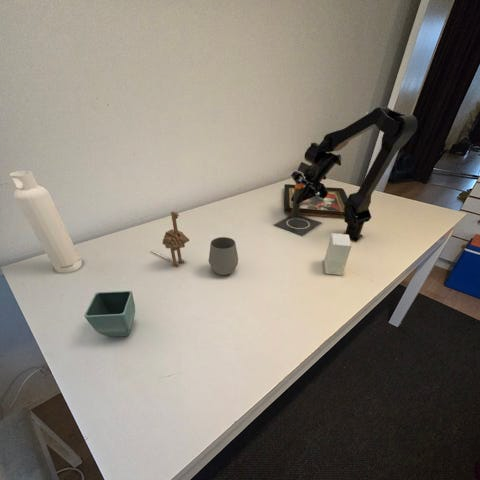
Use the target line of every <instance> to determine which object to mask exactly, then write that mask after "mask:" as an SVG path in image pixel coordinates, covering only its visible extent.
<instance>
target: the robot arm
mask: <svg viewBox="0 0 480 480" xmlns="http://www.w3.org/2000/svg"><path fill="white" fill-rule="evenodd" d="M375 127H376V128H377V130H379V131H380V132H382V133H383V134H382V137H381V145H380V146H381V147H380V149H379V151H378V153H377V154H376V156H375V159H374V160H373V162H372V164H371V167H370V168H369V170H368V171H367V173H366V175H365V177H364V179H363V180H362V183H361V185H360V187H359V189H358V190H357V191H356V192H353V193H350V194H349V195H348V196H347V198H348V199H347V201H346V203H345V204H344V205H345V207H344V211H345V218H344V223H346V228H345V231H344V233H342V234H346V235H349V238H350V241H352V242H358V241H359V240H360V239H361V238H363V234H361V233H362V232H363V231H362V230H363V228H364V225H365V223H367V222H370V220H371V219H372V214H371V210H370V209H369V208H370V205H371V203H372V195H373V193H374V191H375V189H376V188H377V186H378V185H379V183H380V181H381V180H382V178H383V176H384V174H385V172H386V171H387V169H388V167H389V166H390V164H391V162H392V161H393V159H394V157H395V156H396V154H397V153H398V151H400V150H401V149H402V148H403V147H404V146H405V145H406V144H407V143H408V142H409V141H410V140H411V138H412V136H413V135H414V134H415V133H416V131H417V129H418V119H417V117H416V116H415V115H413V114H408V115H405V114H404V113H401V112H398V111H395V110H393V109H391V108H389V107H388V106H379V107H375V108H374V109H373V110H372V111H370V112H369V113H367V114H365V115H364V116H362V117H361V118H359V119H357V120H356V121H354V122H352V123H350V124H349V125H348V126H346V127H344V128H342V129H339V130H335V131H331V132H329V133H327V134H325V135H324V136H323V139H322V141H321V142H320V143H319V144H318V143H317V142H311V143H310V146H308V148H306V150H305V152H304V160H305V161H306V162H307V163H305V162H303V161H301V162H300V164H299V165H298V167H297V170H295V171H293V172H292V173H291V174H290V177H291V178H292V180H293V181H294V183H295V184H298V183H299V184H303V189H302V194H301V195H300V197H299V198H298V199H297V201H296V204H299V203H301V202H303V201H305V200H307V199H310V198H312V197H316V194H317V193H318V192H319V197H321V198H323V199H324V198H325V197H326V196H327V194H328V191H327V189H326V187H327V186H325V184H324V183H322V181H323V180H324V181H326V179H327V175H328V174H329V173H330V172H331V170H332V169H333V168H334V167H335V165H337V166H342V155H341V154H334V153H332V152H339V151H341V150H342V149H343V148H345V147H346V146H347V145H348V144H349V143H350V142H351V141H352V140H353V139H355V138H357V137H359V136H360V135H362V134H365V133H366V132H368V131H370V130H372V129H374V128H375ZM308 163H309V164H308ZM304 187H305V188H304ZM293 199H294V194H293V196H292V198H291V201H293Z"/></svg>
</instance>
